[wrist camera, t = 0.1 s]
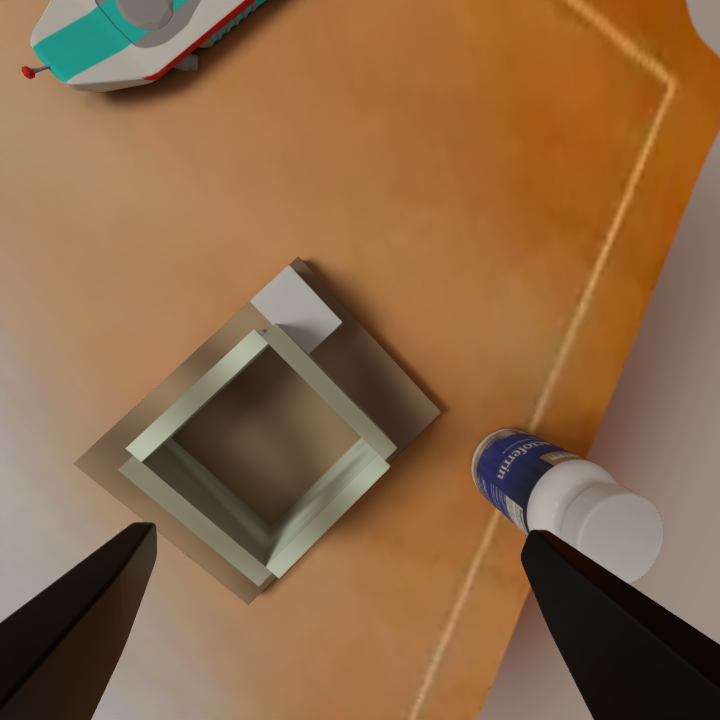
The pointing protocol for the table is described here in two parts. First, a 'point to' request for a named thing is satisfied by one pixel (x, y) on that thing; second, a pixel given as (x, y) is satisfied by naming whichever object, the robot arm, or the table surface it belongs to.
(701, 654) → the robot arm
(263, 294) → the block
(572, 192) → the table surface
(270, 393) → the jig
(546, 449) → the pill bottle
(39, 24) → the toy spaceship
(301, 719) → the table surface
